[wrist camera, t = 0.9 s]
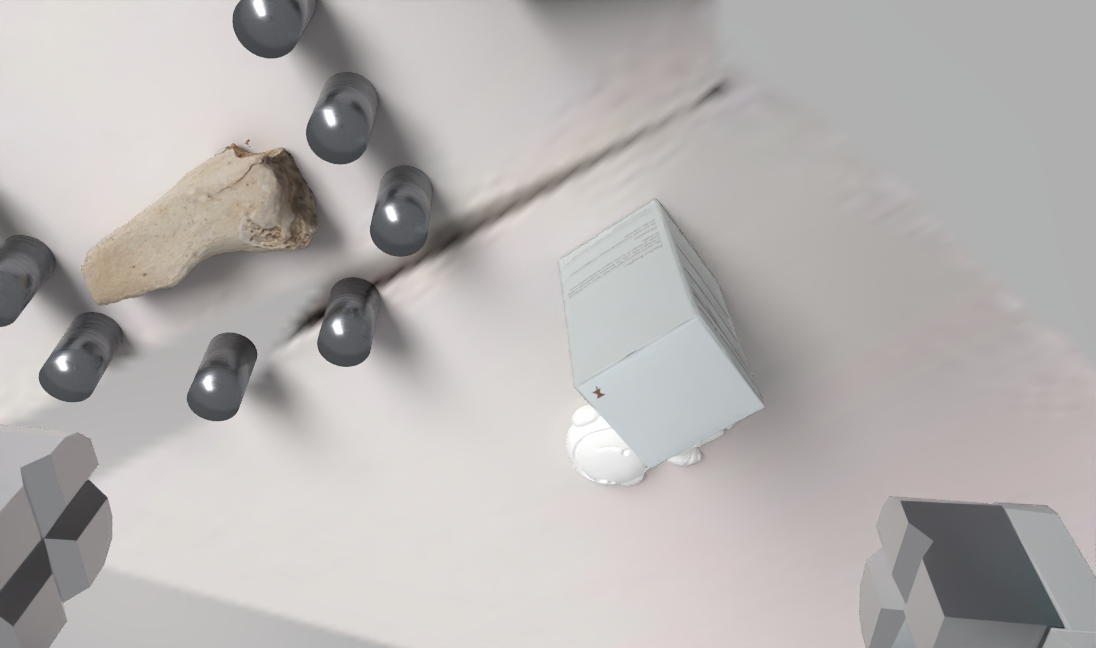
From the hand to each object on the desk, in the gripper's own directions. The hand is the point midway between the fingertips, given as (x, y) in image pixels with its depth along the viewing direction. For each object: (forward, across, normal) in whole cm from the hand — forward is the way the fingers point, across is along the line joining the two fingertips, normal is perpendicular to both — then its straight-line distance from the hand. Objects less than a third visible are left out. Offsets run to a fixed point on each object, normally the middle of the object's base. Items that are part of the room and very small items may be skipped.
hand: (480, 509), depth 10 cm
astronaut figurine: (+45, -6, +32) cm, 56 cm away
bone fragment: (+41, +21, +16) cm, 49 cm away
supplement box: (+44, -4, +19) cm, 48 cm away
